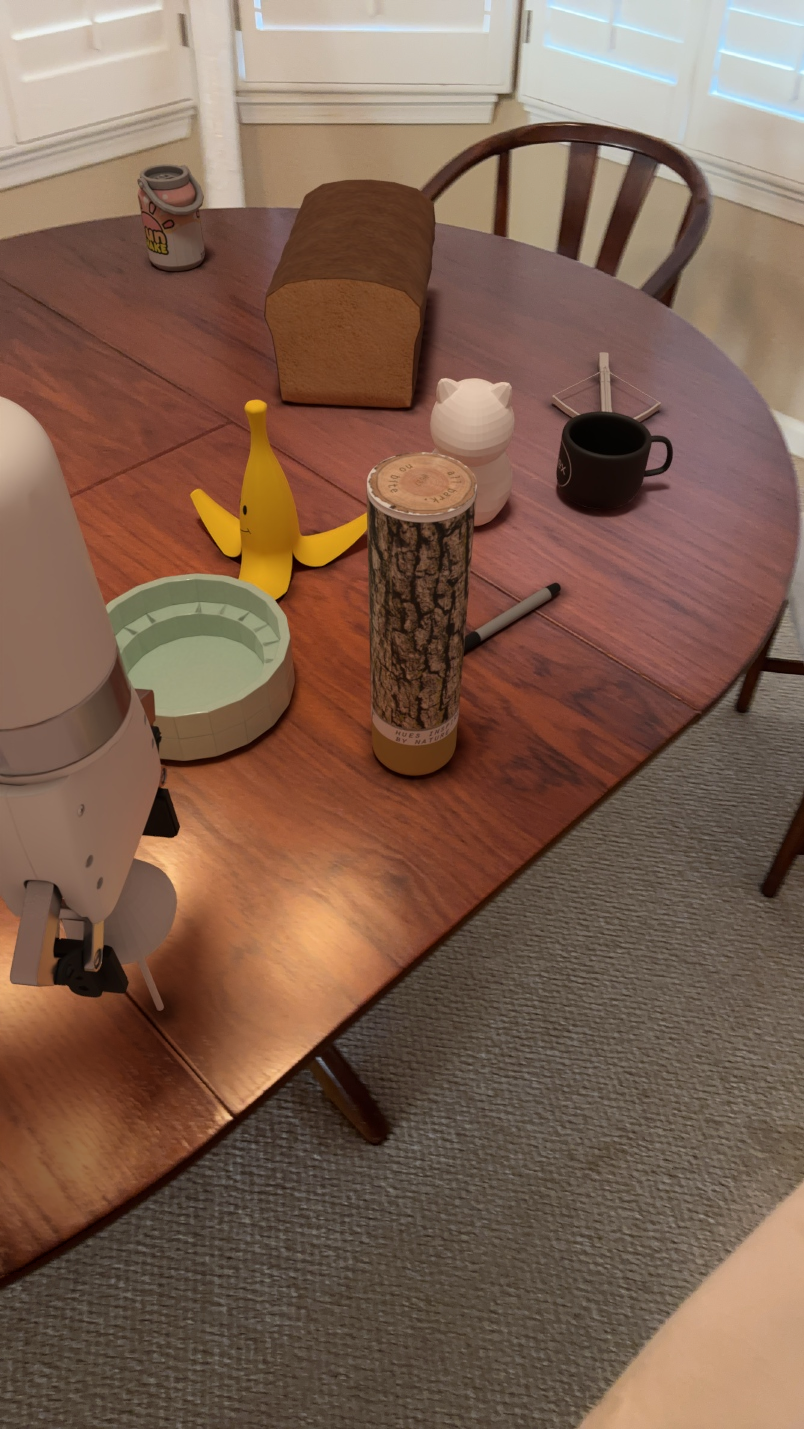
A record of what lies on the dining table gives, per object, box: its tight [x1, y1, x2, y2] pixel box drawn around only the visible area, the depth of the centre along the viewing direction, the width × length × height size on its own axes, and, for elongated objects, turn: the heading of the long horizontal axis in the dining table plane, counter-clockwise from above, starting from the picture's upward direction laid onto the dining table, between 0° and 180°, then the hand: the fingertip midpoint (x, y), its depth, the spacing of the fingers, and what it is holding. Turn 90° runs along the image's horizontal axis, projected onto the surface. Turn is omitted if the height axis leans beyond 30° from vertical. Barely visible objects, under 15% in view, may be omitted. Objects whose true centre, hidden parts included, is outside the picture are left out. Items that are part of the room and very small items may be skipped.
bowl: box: [105, 572, 296, 762], centre depth 78 cm, size 17×17×6 cm
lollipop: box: [61, 857, 178, 1011], centre depth 55 cm, size 6×6×15 cm
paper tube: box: [366, 451, 477, 776], centre depth 67 cm, size 7×7×25 cm
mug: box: [555, 410, 674, 510], centre depth 98 cm, size 12×9×7 cm
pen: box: [464, 582, 562, 653], centre depth 85 cm, size 1×16×1 cm, turn 131°
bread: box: [263, 179, 436, 409], centre depth 115 cm, size 18×30×16 cm, turn 176°
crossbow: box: [551, 351, 661, 423], centre depth 113 cm, size 16×13×2 cm
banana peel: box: [189, 399, 367, 601], centre depth 86 cm, size 17×19×17 cm
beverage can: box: [136, 163, 206, 272], centre depth 134 cm, size 9×8×12 cm
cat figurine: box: [429, 377, 516, 527], centre depth 93 cm, size 9×12×15 cm
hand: (127, 903), depth 52 cm, fingers open, 9 cm apart
